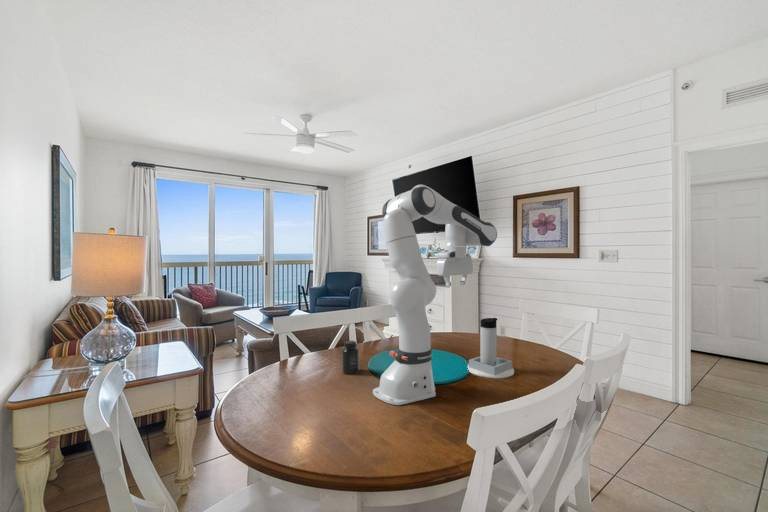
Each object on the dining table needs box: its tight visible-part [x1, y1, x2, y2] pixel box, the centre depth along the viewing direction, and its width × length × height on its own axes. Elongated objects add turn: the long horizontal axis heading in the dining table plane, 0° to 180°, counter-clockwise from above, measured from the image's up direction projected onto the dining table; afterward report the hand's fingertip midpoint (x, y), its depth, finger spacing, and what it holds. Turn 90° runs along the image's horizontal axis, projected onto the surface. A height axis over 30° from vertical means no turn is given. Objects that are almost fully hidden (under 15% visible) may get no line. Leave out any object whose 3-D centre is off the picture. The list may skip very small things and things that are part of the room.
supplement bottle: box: [341, 340, 360, 375], centre depth 143 cm, size 7×7×12 cm
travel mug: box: [479, 317, 498, 366], centre depth 143 cm, size 6×7×20 cm
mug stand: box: [466, 356, 515, 380], centre depth 143 cm, size 18×18×4 cm
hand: (455, 285), depth 154 cm, fingers open, 8 cm apart
